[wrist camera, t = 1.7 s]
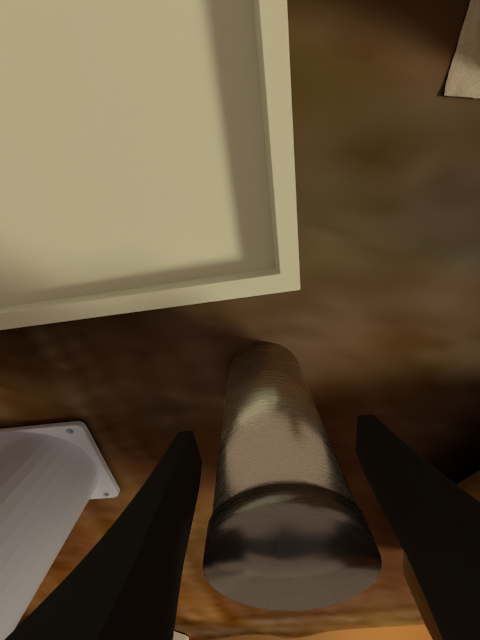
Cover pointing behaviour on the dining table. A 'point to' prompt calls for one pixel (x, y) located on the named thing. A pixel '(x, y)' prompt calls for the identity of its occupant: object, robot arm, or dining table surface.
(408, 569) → the ceramic pitcher
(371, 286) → the dining table surface
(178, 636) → the cup
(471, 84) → the condiment
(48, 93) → the tray
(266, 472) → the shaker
